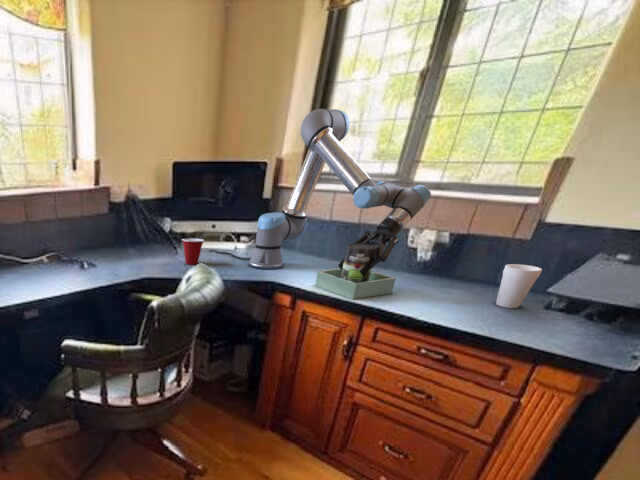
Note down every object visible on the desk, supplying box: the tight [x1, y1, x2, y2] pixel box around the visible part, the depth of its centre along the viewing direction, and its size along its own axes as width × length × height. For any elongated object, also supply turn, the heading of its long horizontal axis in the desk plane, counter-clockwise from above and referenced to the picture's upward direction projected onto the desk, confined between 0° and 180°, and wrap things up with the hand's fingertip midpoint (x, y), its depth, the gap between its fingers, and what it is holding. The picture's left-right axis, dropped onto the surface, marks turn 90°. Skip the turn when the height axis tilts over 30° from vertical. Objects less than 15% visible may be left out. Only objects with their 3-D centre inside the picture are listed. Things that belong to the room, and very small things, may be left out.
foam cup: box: [495, 263, 543, 309], centre depth 143 cm, size 10×9×13 cm
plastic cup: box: [181, 237, 205, 266], centre depth 208 cm, size 11×11×12 cm
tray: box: [314, 268, 397, 300], centre depth 165 cm, size 20×19×6 cm
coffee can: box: [340, 243, 378, 283], centre depth 162 cm, size 10×10×14 cm
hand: (350, 270), depth 162 cm, fingers closed on coffee can, 10 cm apart
